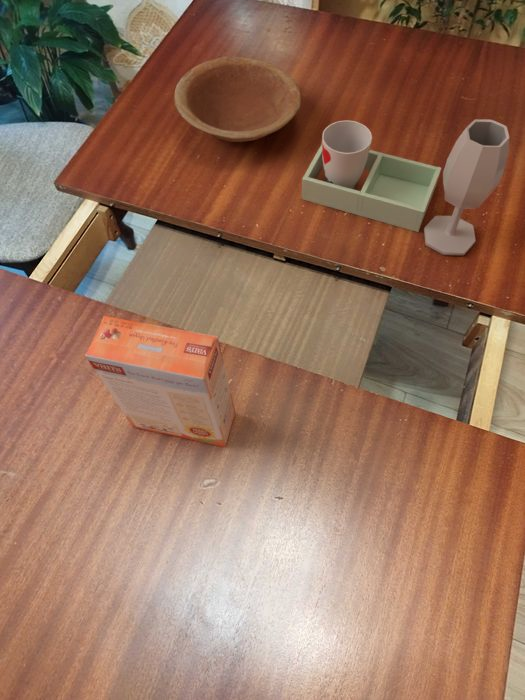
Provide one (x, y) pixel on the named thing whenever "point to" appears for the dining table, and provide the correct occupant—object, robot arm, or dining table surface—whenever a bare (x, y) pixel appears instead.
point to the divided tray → (377, 189)
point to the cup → (345, 152)
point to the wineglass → (468, 183)
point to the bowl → (237, 98)
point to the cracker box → (165, 379)
